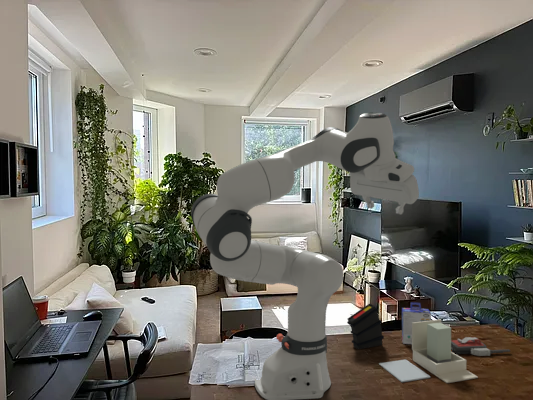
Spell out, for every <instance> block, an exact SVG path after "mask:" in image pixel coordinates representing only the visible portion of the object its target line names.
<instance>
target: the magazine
mask: <svg viewBox="0 0 533 400" xmlns="http://www.w3.org/2000/svg"><path fill="white" fill-rule="evenodd" d="M378 310H379V309H378V307H376V306H375V304H372V303H368V304H367V305H365V306H364V307H362V308H361V309H359V310H358V311H357V312H355V313H353V314H352V315H351V316H349V317H348V318H347V322H346V323H347V324H348V325H349V326H350V328H351V331H350V334H352V340H351V343H352V346H353V348H354V349H357V350H362V349H369V348H374V347H379V346H383V340H384V339H385V337H384V335H383V332H382V331H383V330H382V325H381V324H382V322H383V321H382V320H381V319H380V316H379V313H378Z"/></svg>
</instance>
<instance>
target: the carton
mask: <svg viewBox="0 0 533 400" xmlns="http://www.w3.org/2000/svg"><path fill="white" fill-rule="evenodd" d="M432 323H442V319H431V321H422V322H414V323H412V344H411V350H412V361H413V362H415V363H416V364H418V365H419V366H420V367H422V368H424V369H425V370H427V372H429V373H431V374H432V375H434V376H436V377H437V378H438V379H440V380H442V381H443V382H444V383H445V384H450V383H455V382H462V381H468V380H473V379H478V378H479V377H478V376H477V375H476V374H474V373H472V372H470V370H467V359H466V358H463V357H462V356H460V355H459V354H455V353H453V352H452V351H451V362H444V363H437V364H436V363H435V362H433V361H432V360H430V359H428V358H427V324H432Z"/></svg>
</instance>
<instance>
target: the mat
mask: <svg viewBox="0 0 533 400" xmlns="http://www.w3.org/2000/svg"><path fill="white" fill-rule="evenodd" d="M378 364H379V365H380V366H381V367H382V368H383V369H384V370H385V371H387V372H388V373H389V374H391V375H392V376H393V377H395V379H396V380H398V381H400V383H406V382H412V381H417V380H419V381H420V380H425V379H426V380H427V379H430V378H431V376H430V375H429V374H427V373H426V372H425V371H424V370H422V369H421V368H419V367H417V366H416V365H414V364H413V363H411V362H410V361H409V360H407V359H400V360H392V361H387V362H379V363H378Z"/></svg>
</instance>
